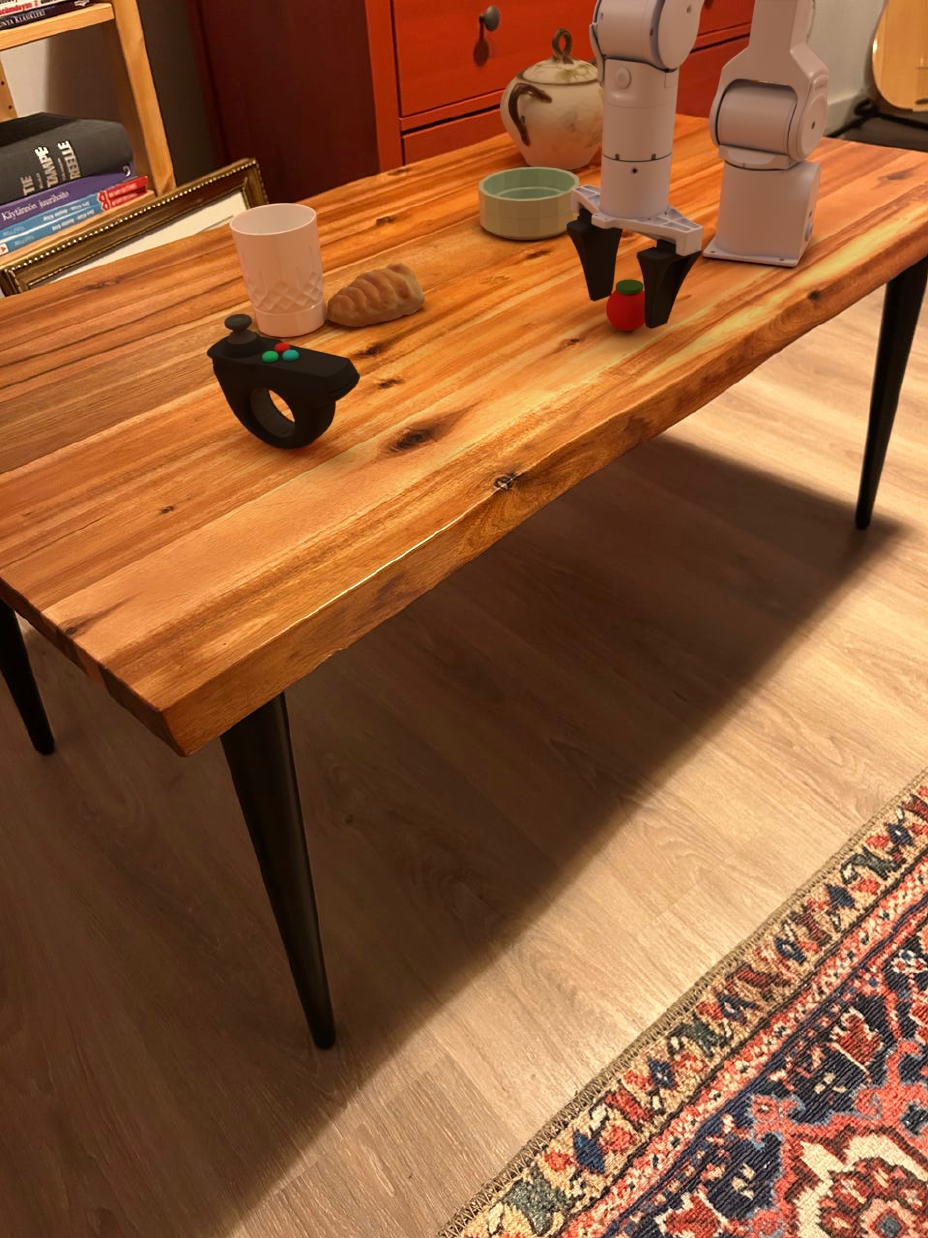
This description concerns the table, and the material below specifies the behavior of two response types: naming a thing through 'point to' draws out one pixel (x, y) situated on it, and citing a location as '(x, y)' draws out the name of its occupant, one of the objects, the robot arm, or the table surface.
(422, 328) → the table surface
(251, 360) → the controller
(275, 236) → the white cup
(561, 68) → the cream ceramic round pot
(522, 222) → the bowl
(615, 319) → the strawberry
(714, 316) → the table surface
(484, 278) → the table surface
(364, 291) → the pastry
